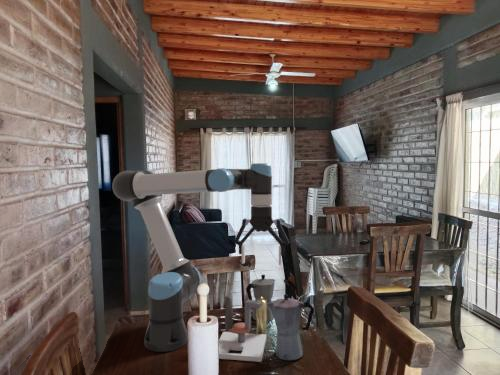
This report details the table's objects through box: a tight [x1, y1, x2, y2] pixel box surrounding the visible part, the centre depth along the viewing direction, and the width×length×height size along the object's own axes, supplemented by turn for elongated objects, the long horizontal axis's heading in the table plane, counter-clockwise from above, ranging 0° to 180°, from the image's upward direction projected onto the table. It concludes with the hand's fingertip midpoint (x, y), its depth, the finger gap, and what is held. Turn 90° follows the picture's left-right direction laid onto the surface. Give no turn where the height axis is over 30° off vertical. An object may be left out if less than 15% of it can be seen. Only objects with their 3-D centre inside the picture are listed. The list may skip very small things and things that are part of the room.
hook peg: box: [256, 297, 267, 335], centre depth 131 cm, size 4×4×14 cm
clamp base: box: [218, 331, 267, 363], centre depth 122 cm, size 16×16×2 cm
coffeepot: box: [245, 274, 276, 323], centre depth 146 cm, size 15×9×18 cm, turn 129°
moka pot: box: [267, 293, 315, 361], centre depth 117 cm, size 10×15×20 cm, turn 81°
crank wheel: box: [224, 295, 263, 343], centre depth 123 cm, size 14×6×15 cm, turn 64°
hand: (261, 263), depth 130 cm, fingers open, 13 cm apart
